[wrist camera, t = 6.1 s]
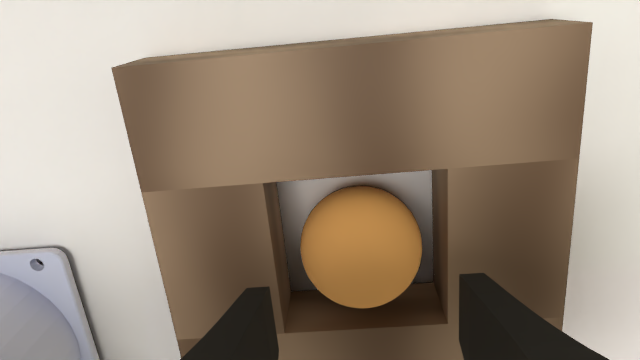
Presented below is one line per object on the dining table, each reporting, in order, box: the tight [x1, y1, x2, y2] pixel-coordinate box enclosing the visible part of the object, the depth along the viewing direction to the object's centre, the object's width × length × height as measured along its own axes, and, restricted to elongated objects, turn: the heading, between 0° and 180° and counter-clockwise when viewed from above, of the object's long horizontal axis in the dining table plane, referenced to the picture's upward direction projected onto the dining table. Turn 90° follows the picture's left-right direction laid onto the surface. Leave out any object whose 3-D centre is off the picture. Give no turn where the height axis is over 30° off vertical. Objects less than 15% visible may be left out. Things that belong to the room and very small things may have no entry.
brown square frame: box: [112, 19, 593, 360], centre depth 16 cm, size 13×13×2 cm
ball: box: [300, 186, 422, 308], centre depth 16 cm, size 4×4×4 cm
